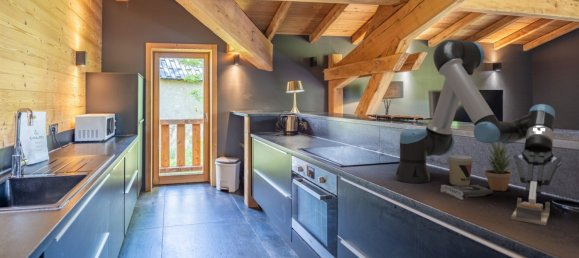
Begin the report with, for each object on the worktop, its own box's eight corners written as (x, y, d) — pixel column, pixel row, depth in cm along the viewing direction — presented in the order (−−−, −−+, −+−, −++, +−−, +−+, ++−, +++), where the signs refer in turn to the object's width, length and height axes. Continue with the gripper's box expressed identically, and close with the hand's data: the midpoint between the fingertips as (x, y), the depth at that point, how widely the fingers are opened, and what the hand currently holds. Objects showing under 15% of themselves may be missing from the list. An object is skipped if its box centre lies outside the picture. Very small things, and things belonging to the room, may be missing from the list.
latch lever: (523, 201, 112) (519, 203, 104) (543, 204, 109) (540, 206, 101) (523, 206, 112) (518, 209, 104) (543, 209, 109) (540, 212, 101)
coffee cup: (462, 187, 145) (462, 159, 143) (443, 182, 153) (443, 156, 152) (476, 184, 149) (477, 157, 147) (457, 179, 157) (458, 154, 156)
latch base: (517, 208, 114) (518, 196, 114) (549, 213, 108) (550, 201, 108) (511, 219, 103) (511, 206, 103) (545, 225, 98) (546, 211, 98)
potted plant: (479, 187, 144) (480, 129, 142) (496, 185, 146) (497, 128, 145) (500, 193, 134) (501, 130, 133) (518, 191, 137) (519, 129, 136)
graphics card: (460, 192, 125) (440, 184, 136) (460, 202, 125) (439, 193, 137) (500, 190, 128) (477, 182, 139) (500, 200, 128) (476, 191, 140)
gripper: (514, 134, 118) (505, 191, 106) (563, 135, 109) (559, 198, 98) (516, 148, 122) (507, 204, 110) (563, 150, 114) (559, 212, 102)
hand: (532, 201), depth 104 cm, fingers closed
